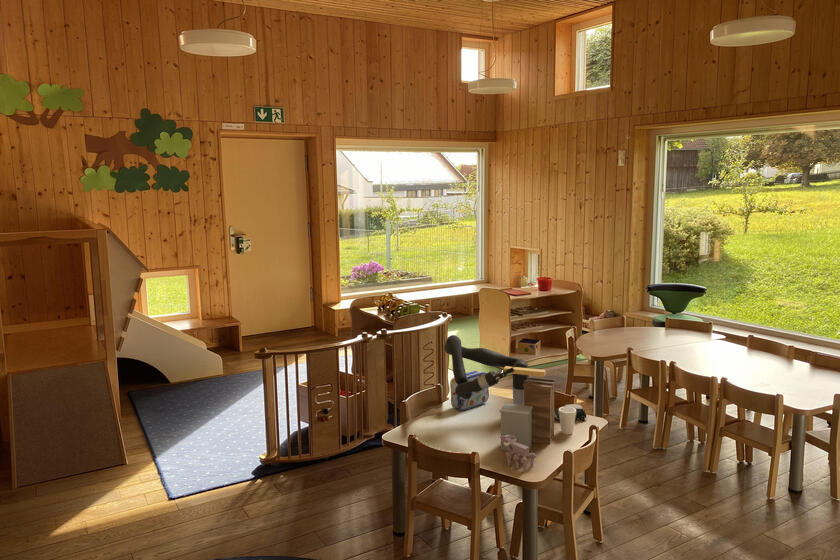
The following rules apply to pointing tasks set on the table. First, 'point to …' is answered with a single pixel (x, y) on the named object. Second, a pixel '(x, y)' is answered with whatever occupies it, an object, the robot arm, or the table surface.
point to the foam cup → (567, 419)
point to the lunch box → (475, 399)
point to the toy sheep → (517, 451)
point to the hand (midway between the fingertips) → (514, 367)
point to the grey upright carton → (516, 423)
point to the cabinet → (540, 407)
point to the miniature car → (579, 412)
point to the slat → (527, 371)
